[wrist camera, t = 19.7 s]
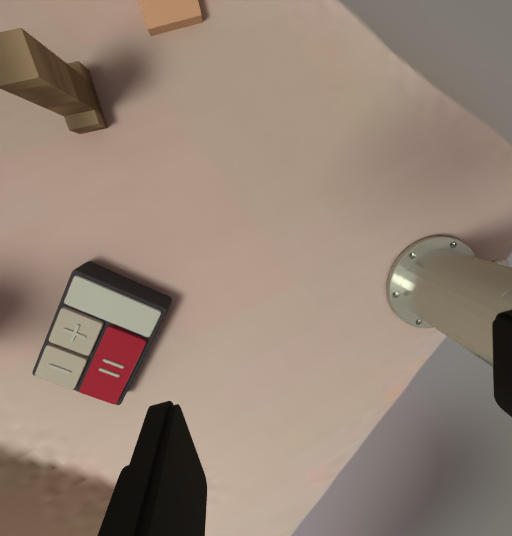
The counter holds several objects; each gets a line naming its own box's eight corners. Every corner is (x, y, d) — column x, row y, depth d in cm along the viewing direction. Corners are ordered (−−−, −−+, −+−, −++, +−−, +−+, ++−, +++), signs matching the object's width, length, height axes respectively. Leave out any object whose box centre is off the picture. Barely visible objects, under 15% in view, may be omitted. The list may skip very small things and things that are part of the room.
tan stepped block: (88, 70, 32) (12, 5, 20) (107, 127, 34) (46, 97, 22) (59, 76, 32) (-34, 14, 20) (79, 134, 33) (4, 106, 22)
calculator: (26, 379, 36) (69, 270, 33) (47, 358, 41) (87, 259, 37) (117, 411, 39) (166, 312, 35) (128, 388, 43) (173, 297, 39)
